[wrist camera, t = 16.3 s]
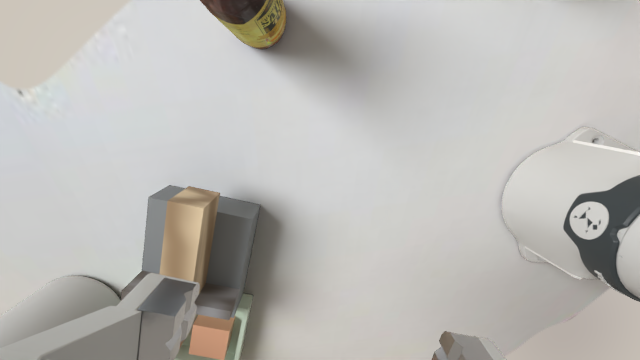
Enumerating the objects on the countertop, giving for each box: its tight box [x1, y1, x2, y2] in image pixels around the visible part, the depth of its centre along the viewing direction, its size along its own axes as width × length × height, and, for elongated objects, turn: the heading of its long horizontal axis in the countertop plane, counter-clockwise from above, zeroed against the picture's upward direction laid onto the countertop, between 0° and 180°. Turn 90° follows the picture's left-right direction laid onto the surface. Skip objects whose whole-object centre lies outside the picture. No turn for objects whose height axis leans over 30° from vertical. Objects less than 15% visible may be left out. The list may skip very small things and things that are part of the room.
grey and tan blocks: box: [121, 186, 240, 320], centre depth 33 cm, size 12×13×5 cm
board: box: [142, 185, 260, 318], centre depth 38 cm, size 12×14×5 cm
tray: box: [174, 294, 253, 360], centre depth 42 cm, size 15×11×3 cm
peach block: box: [189, 315, 235, 360], centre depth 42 cm, size 5×5×3 cm
